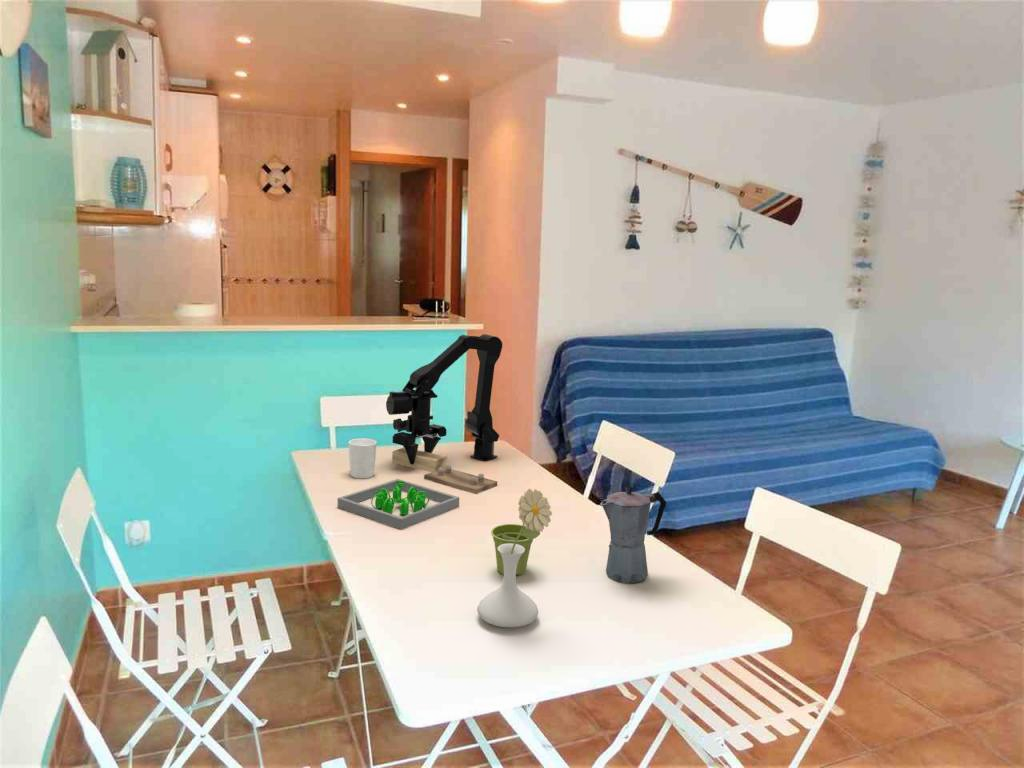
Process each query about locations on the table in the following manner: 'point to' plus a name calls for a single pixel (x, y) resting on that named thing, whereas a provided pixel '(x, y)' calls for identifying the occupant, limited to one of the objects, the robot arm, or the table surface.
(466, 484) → the peg stand
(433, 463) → the beige wooden block
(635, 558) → the moka pot
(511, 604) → the flower in vase
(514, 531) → the plant pot
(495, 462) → the table surface
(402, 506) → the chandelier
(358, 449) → the white cup
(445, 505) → the toy tray rim
